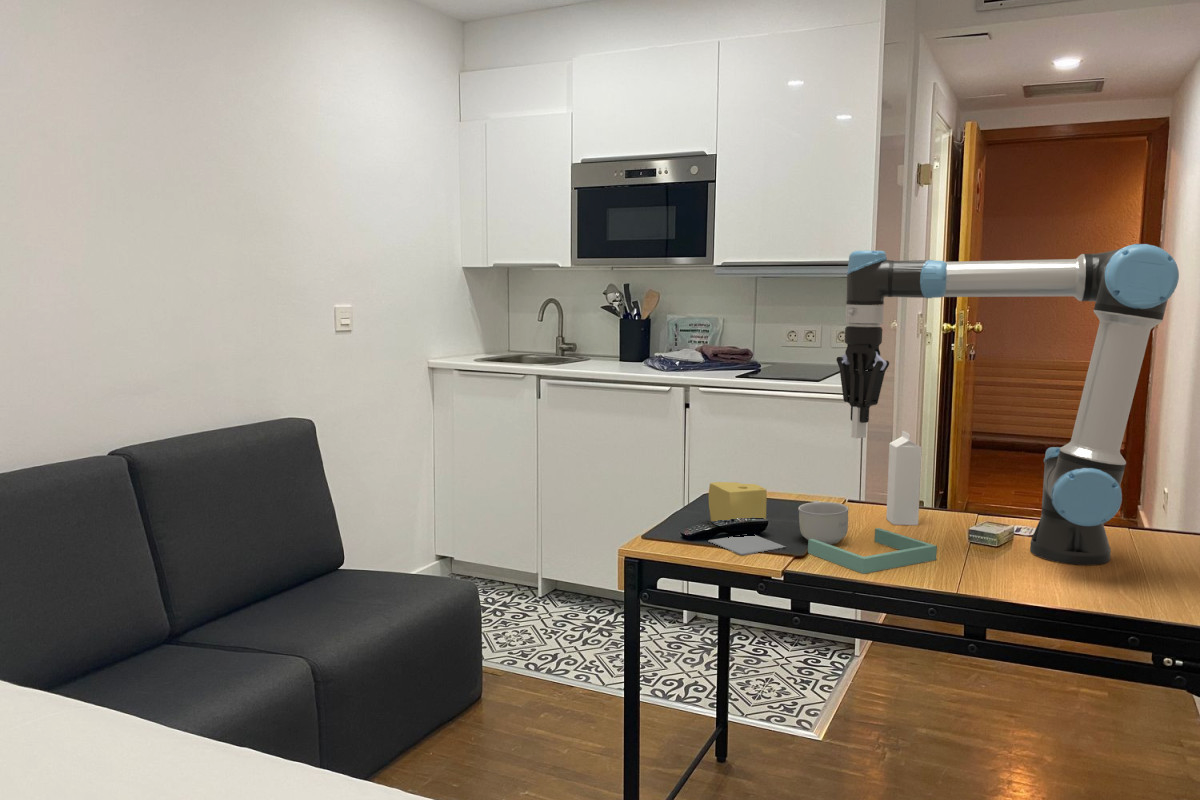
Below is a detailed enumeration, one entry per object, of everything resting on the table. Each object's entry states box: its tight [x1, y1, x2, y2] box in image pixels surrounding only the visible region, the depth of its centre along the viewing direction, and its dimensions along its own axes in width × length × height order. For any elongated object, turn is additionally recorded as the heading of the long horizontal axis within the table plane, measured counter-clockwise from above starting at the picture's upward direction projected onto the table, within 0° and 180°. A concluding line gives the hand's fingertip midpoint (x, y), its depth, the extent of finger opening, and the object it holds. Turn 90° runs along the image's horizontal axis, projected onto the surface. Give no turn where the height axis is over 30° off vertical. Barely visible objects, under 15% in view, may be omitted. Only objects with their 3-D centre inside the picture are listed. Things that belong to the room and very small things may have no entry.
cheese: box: [708, 481, 768, 522], centre depth 217 cm, size 10×11×10 cm
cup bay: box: [807, 527, 938, 575], centre depth 193 cm, size 16×20×3 cm
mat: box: [707, 534, 787, 556], centre depth 201 cm, size 12×12×1 cm
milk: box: [886, 430, 923, 526], centre depth 221 cm, size 6×6×22 cm
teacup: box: [797, 500, 850, 545], centre depth 206 cm, size 14×11×8 cm
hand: (858, 437), depth 194 cm, fingers closed
